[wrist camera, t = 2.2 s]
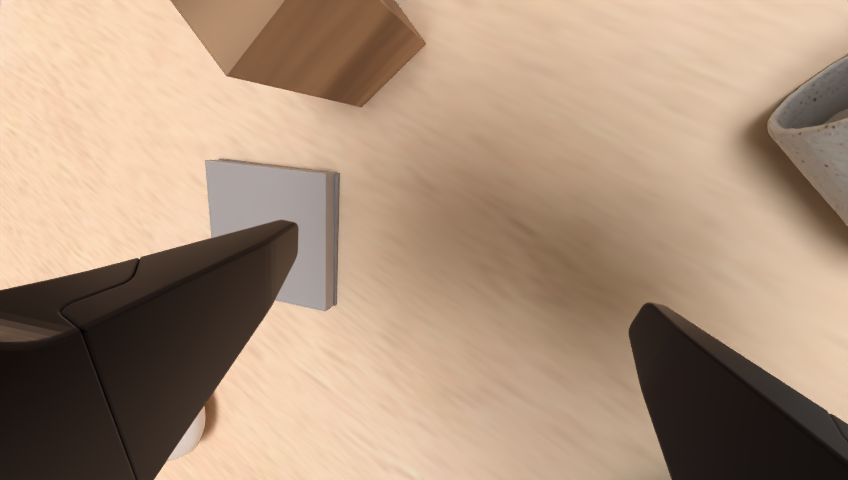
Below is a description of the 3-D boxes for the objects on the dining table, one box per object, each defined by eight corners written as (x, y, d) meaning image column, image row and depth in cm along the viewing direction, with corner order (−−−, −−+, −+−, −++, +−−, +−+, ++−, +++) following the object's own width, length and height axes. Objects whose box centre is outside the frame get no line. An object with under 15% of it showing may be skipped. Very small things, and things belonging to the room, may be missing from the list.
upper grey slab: (333, 305, 25) (325, 311, 24) (226, 282, 27) (215, 286, 26) (334, 172, 22) (325, 173, 22) (217, 159, 25) (205, 160, 24)
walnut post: (425, 43, 19) (324, -52, 10) (361, 107, 21) (226, 75, 12) (370, -34, 19) (216, -201, 10) (310, 37, 21) (133, -49, 12)
